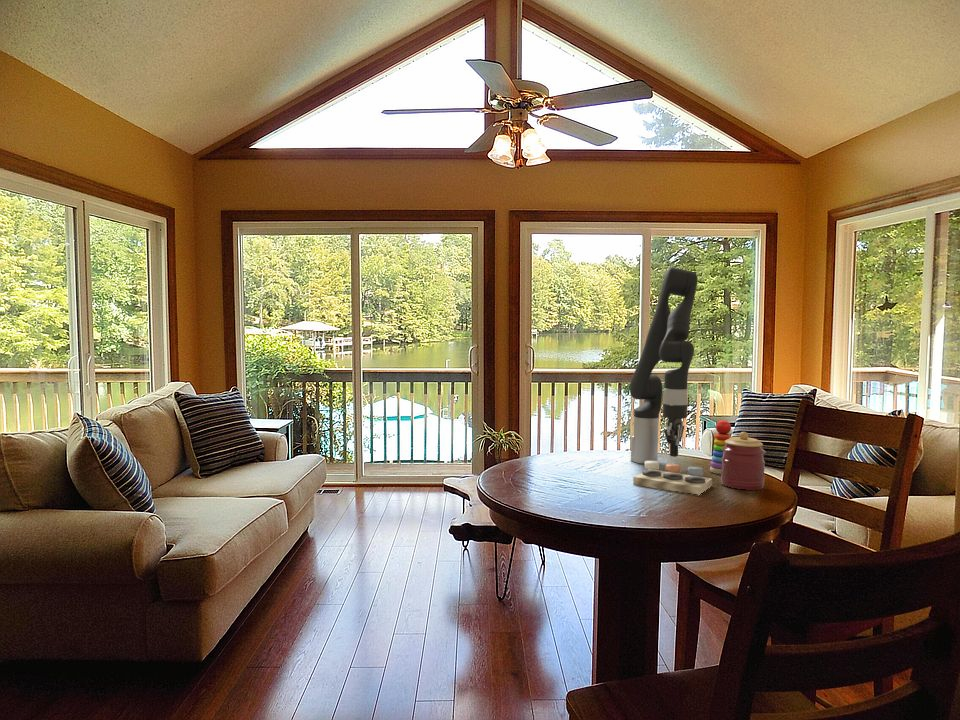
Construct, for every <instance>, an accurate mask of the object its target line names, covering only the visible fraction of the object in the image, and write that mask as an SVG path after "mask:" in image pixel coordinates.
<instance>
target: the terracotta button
mask: <svg viewBox="0 0 960 720" xmlns="http://www.w3.org/2000/svg"><path fill="white" fill-rule="evenodd" d="M681 469H682V467H681V464H678V463H665V472H670V473H678V474H681Z"/></svg>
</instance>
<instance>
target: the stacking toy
mask: <svg viewBox="0 0 960 720" xmlns="http://www.w3.org/2000/svg"><path fill="white" fill-rule="evenodd" d="M731 429H732V424H731V423H730V422H729V421H727V420H725V419H721V420H718V421H717V423H716V424H715V430H716V431H717V433H716V434H715V439H714V441H713V442H714V443H713V444H714V445H713V451H712V456H711V461H710V463H709V464H710V467H709V471H710V472H711V473H712V472H713V473H712V474H716V475H721V473H722V459H721V458H722V457H723V450H722V447H723V446H725V445H726V443H725V440H727V439H729V438H730V437H732V436H731V435H730V434H729V433H730V432H731Z"/></svg>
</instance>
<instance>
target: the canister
mask: <svg viewBox="0 0 960 720" xmlns="http://www.w3.org/2000/svg"><path fill="white" fill-rule="evenodd" d="M725 443H726V445H725V446H723V447H722V450H723V457H722V458H721V459H722V473H721V474H720V481H721V485H722V484H723V485H722V486H724V485H725V486H724V487H726V486H728V487H727V488H729V487H731V489H734V488H737V489H736V490H740V489H746V490H745V491H758V490H757V489H761V490H762V488H763V489H764V485H765V464H766V461H765V460H764V455H765V454H766V450H765V449H763V445H764V444H763V443H762V442H761V441H760V440H758V439H757V438H754V437H749V434H748V432H746V431H741V432H740V433H739V436H731V437H730V438H729V439H727V440H725Z"/></svg>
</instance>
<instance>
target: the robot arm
mask: <svg viewBox="0 0 960 720" xmlns="http://www.w3.org/2000/svg"><path fill="white" fill-rule="evenodd" d="M697 286H698V275H697V273H696V272H695V271H692V270H687V269H682V268H678V267H672V266H670V267H668V268H667V269H666V272H665V273H664V275H663V279H662V283H661V287H660V293H659V296H658V300H657V302H656V303H657V305H656V308H655V311H654V314H653V317H652V320H651V323H650V325H649V329H648V331H647V335H646V338H645V343H644V345H643V350H642V352H641V354H640V358H639V361H638V364H637V365H636V367H635V370H634V372H633V375H632V376H631V380H630V384H629V393H630V395H631V397H632V398H633V399H635V400H643V403H642V404H641V405H640V406H638V407H636V408H634V410H633V433H632V436H631V438H630V439H631V441H630V462H634V463H637V464H644V465H645V461H657V462H659V461H658V459H659V428H660V427H659V423H660V412H661V409H662V417H663V418H666V419H667V423H666V428H664V435H665V436H664V437H665V439H666V443H667V444H668V445H669V457H674V458H677V457H678V456H679V445H680V443H681V442H682V438H683V434H684V430H685V425H684V424H683V419H687V417H688V406H689V405H688V403H689V401H688V400H689V399H688V395H689V394H688V375H689V372H690V371H689V370H690V367H691V363H692V361H693V358H694V353H695V347H694V344H693V343H692V342H691V341H689V340H688V338H689V336H690V325H691V324H690V323H691V322H690V320H691V313H692V309H693V306H694V301H695V298H696V297H695V296H696V292H697ZM670 295H674V296H679V297H683V300H682V301H681V302H680V303H679V304H677V306H675V307H674V308H673V309H672V310H670V304H669V299H670ZM661 361H662V362H664V363H677V364H678V363H679V364H680V363H681V364H680V367H678V368H675V369H674V368H673V369H668V370H666V371H665V373H664V379H663V380H664V382H663V383H662V380H661V378H660V377H659V376H657V375H654V374H652V372H653V370H654V369H655V367H656V365H657V364H658V363H660V362H661ZM663 384H664V385H663ZM663 389H664V390H663Z"/></svg>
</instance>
